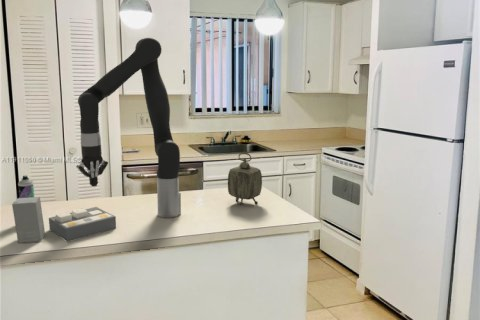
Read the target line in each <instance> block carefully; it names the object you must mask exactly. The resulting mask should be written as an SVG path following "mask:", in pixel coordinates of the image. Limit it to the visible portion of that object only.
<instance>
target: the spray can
mask: <svg viewBox="0 0 480 320" xmlns="http://www.w3.org/2000/svg"><path fill="white" fill-rule="evenodd" d="M17 185H18V186H17V188H18V196H19V197H18V198H31V197H35V187H34V181H33V180H31V179H30V178H29V177H28V175H23V176H22V178H21V180H20V181H19V180H18V183H17Z"/></svg>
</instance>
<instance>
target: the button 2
mask: <svg viewBox="0 0 480 320" xmlns="http://www.w3.org/2000/svg"><path fill="white" fill-rule="evenodd" d="M88 213H89V214H91V215H96V214H100V213H103V212H101V211H99V210H94V211H90V212H88Z"/></svg>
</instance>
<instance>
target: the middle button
mask: <svg viewBox="0 0 480 320" xmlns="http://www.w3.org/2000/svg"><path fill="white" fill-rule="evenodd" d="M85 209H86V208H78V209H74V210H72V211H71V213H72V217H74V218H76V219H79V218H83V217H87V216H88V211H87V210H85Z"/></svg>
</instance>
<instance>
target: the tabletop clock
mask: <svg viewBox="0 0 480 320" xmlns="http://www.w3.org/2000/svg"><path fill="white" fill-rule="evenodd" d="M241 155H247V156H249V159H247V158H243V159H242V158H240V156H241ZM238 159H239V160H240V161H242V162H241V163H240V164H239V165H238V166H235V167H233V168H230V169H229V171H228V175H227V190H228V191H227V192H228V194H229V195H230V196H231V197H234V198H235V200H236V201H239V200H240V202H239V205H240V206H243V205H244V203H243V201H244V200H252V201H253V202H254V205H258V201H257V200H256V199H255V198H257V197H259V196H260V195H261V193H262V189H263V188H262V186H263V175H262V174H263V173H262V171H261V169H260V168H258V167H255V166H251V165H250V163H249V162H251V161H252V156H251V154H249V152H240V153H239V154H238Z"/></svg>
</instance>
